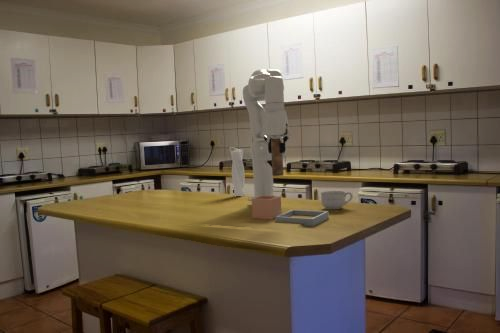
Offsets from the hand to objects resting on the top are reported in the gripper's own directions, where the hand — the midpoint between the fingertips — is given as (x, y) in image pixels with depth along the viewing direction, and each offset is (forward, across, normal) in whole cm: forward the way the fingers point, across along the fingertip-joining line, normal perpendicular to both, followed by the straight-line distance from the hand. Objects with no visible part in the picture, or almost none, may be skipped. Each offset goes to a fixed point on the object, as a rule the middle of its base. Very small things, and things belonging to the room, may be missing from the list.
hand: (277, 152), depth 192 cm
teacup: (+28, +13, +30) cm, 43 cm away
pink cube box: (+28, -6, 0) cm, 28 cm away
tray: (+28, +10, +1) cm, 29 cm away
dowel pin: (+9, 0, 0) cm, 9 cm away
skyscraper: (+27, -55, +53) cm, 81 cm away
